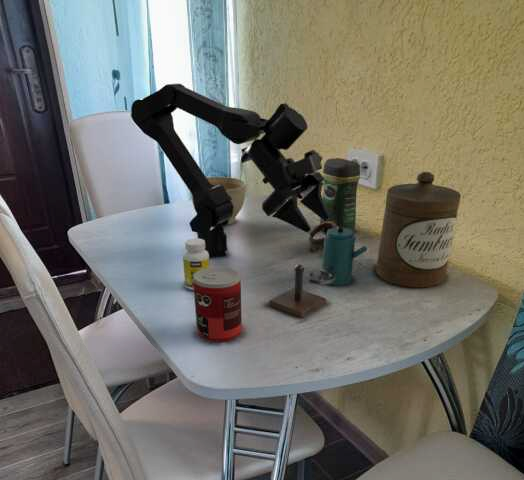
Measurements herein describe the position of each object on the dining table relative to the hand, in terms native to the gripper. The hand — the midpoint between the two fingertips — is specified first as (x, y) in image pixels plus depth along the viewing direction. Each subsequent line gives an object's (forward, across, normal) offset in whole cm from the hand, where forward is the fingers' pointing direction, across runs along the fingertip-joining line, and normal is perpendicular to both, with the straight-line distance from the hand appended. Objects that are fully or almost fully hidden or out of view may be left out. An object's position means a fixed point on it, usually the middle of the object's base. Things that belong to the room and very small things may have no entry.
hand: (318, 225), depth 106 cm
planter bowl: (-21, +22, +37) cm, 48 cm away
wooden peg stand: (+10, -15, +6) cm, 19 cm away
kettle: (+13, -4, +4) cm, 14 cm away
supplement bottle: (-6, -18, +22) cm, 29 cm away
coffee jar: (+2, +32, +14) cm, 35 cm away
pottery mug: (+6, +16, +11) cm, 20 cm away
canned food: (+5, -32, +11) cm, 34 cm away
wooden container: (+21, +11, -4) cm, 24 cm away
